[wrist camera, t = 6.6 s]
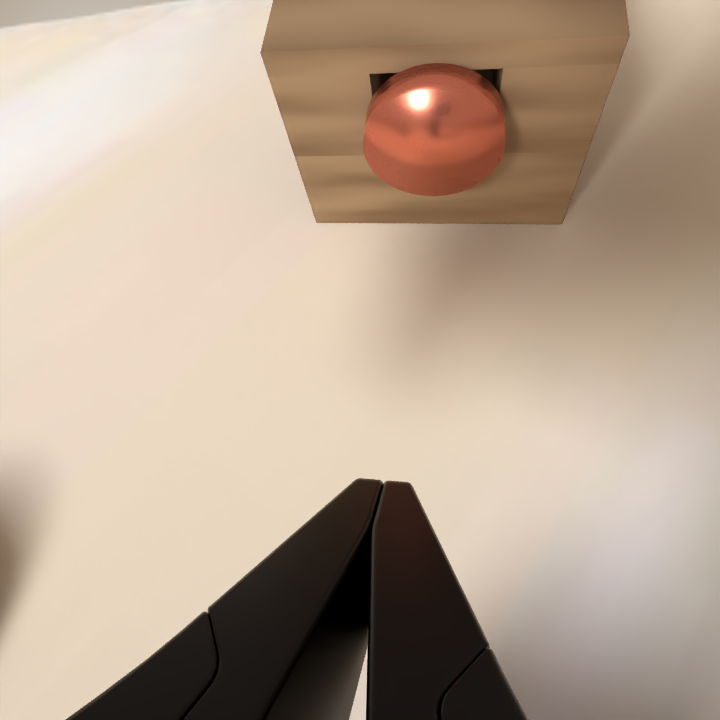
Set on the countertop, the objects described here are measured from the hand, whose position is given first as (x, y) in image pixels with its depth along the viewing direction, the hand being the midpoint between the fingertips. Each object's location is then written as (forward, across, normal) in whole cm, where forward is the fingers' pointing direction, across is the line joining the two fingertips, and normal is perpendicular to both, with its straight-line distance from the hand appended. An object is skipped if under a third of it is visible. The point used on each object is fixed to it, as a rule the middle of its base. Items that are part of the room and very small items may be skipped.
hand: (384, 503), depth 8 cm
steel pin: (+22, 0, -9) cm, 24 cm away
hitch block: (+23, 0, -4) cm, 23 cm away
